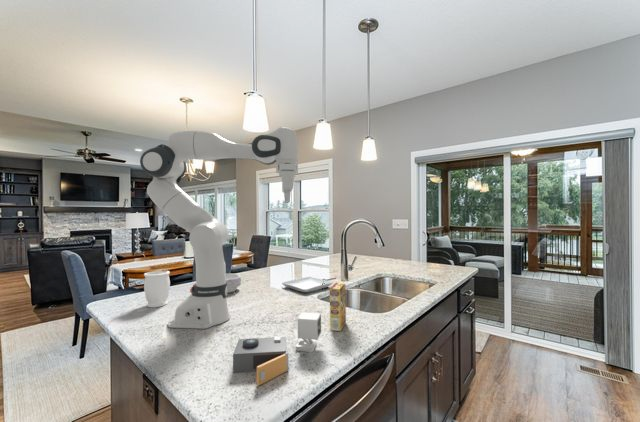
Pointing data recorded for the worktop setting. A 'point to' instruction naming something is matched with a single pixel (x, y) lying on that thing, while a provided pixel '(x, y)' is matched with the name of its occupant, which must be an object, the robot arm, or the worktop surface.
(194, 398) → the worktop surface
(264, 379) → the door
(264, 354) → the grey knob box
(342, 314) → the candy box
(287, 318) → the worktop surface
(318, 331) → the security camera
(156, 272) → the jar
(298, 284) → the salad plate
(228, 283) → the paper bowls
